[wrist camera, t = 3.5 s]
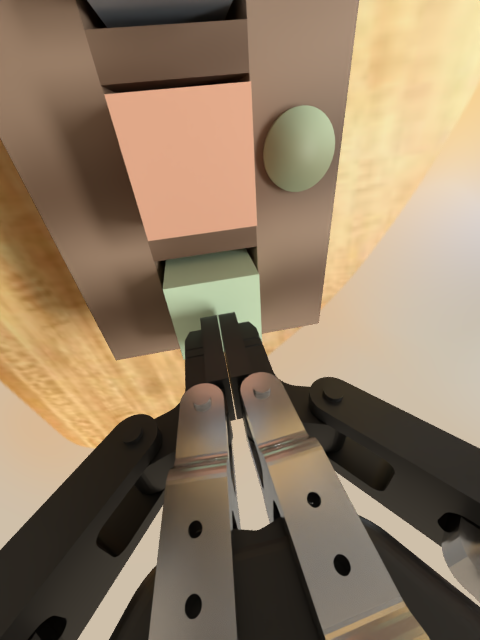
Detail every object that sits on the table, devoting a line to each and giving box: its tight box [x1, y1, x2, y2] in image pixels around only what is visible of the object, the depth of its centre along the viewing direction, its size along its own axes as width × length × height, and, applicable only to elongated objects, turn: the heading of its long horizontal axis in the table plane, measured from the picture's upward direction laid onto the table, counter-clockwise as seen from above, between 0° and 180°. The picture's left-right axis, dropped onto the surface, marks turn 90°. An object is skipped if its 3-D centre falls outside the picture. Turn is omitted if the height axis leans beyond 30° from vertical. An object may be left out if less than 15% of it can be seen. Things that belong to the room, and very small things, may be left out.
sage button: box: [163, 248, 262, 359], centre depth 14 cm, size 4×4×4 cm
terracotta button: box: [104, 81, 257, 241], centre depth 10 cm, size 4×4×4 cm
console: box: [0, 0, 359, 360], centre depth 12 cm, size 18×12×5 cm, turn 5°
